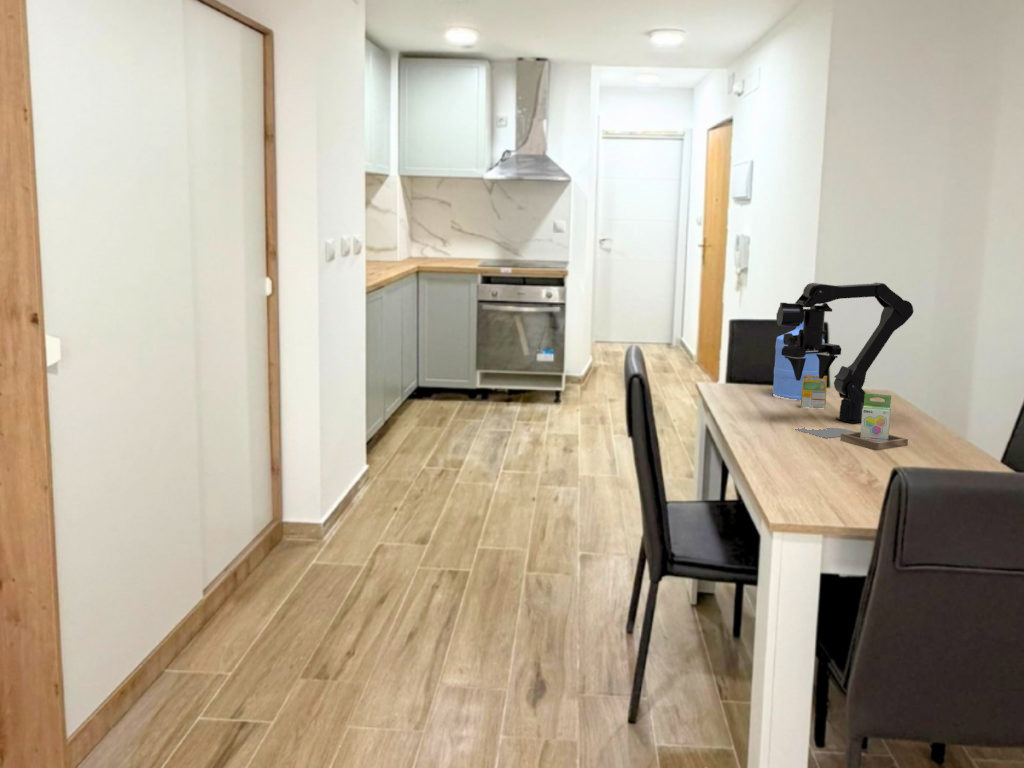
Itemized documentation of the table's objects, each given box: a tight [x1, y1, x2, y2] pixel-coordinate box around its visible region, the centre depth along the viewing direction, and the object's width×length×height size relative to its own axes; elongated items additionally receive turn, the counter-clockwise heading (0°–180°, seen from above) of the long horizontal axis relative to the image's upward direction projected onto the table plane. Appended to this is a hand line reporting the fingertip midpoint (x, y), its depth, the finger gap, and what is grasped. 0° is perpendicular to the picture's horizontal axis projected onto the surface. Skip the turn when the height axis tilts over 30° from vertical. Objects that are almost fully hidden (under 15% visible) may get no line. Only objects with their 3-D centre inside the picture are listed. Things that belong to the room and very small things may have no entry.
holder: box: [839, 431, 909, 451], centre depth 256 cm, size 12×12×2 cm
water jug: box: [771, 323, 826, 400], centre depth 317 cm, size 16×16×28 cm
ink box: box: [860, 392, 892, 442], centre depth 255 cm, size 7×4×13 cm, turn 66°
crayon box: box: [800, 375, 828, 410], centre depth 300 cm, size 7×3×12 cm, turn 76°
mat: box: [794, 427, 856, 440], centre depth 269 cm, size 14×14×1 cm
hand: (809, 379), depth 280 cm, fingers open, 9 cm apart
